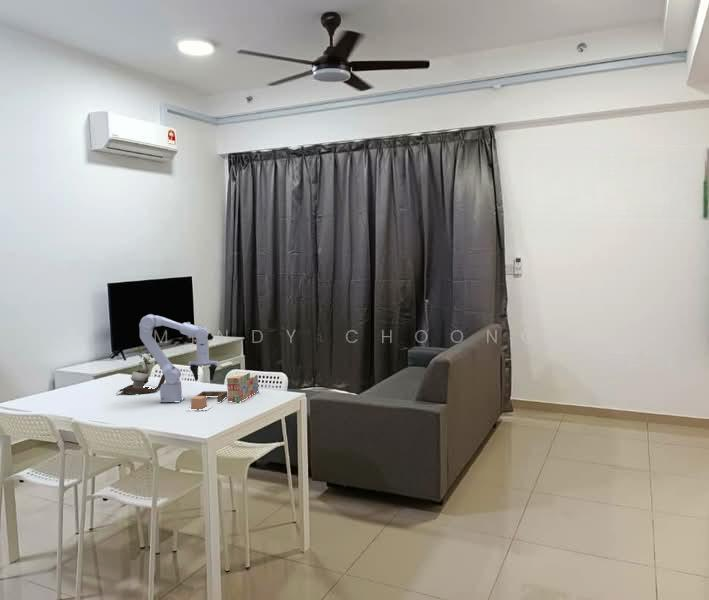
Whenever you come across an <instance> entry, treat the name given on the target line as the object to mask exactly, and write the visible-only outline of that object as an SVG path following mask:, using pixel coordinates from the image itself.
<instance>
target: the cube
mask: <svg viewBox="0 0 709 600" xmlns="http://www.w3.org/2000/svg"><path fill="white" fill-rule="evenodd" d="M207 401H208V399H207V398H206V396H197V395H195V396H193V397H191V398H190V407H191V409H197V410H199V409H203V408H205V407H207V406H208V404H207Z"/></svg>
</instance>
